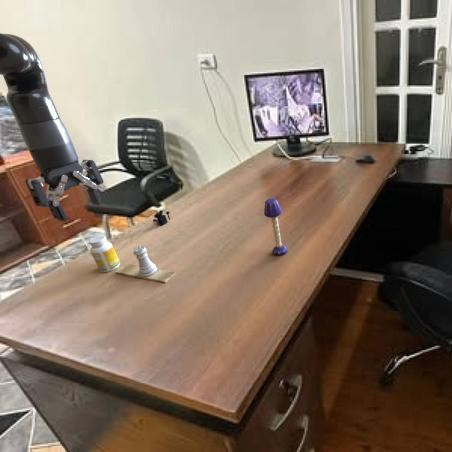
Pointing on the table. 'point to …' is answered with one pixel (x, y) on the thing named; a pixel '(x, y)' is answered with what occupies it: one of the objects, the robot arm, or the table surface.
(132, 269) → the strip
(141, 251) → the rook chess piece
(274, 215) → the toy lamp
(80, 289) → the table surface
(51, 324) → the table surface
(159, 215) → the wireless earbuds
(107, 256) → the supplement bottle
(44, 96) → the robot arm
